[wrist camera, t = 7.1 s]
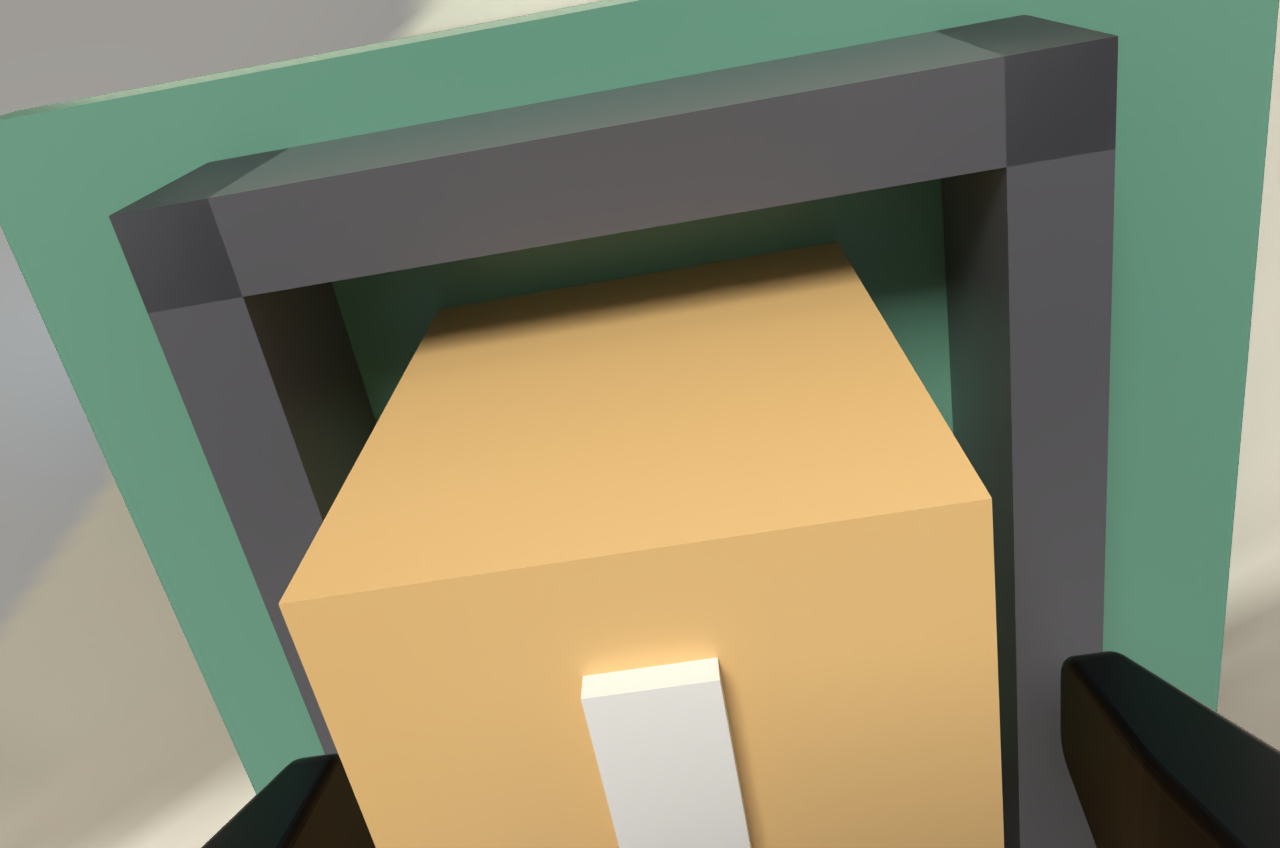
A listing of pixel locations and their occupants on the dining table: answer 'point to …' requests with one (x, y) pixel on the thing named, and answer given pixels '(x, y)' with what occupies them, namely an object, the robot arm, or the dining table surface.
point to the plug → (662, 578)
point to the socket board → (677, 238)
